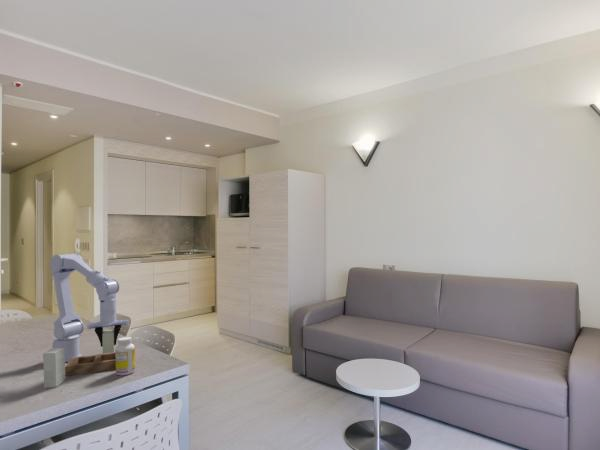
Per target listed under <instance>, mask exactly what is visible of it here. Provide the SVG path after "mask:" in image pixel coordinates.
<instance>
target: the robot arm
mask: <svg viewBox="0 0 600 450" xmlns="http://www.w3.org/2000/svg"><path fill="white" fill-rule="evenodd" d="M49 266H50V271H51V276H52V278H53V285H54V291H55V296H56V302H57V308H58V313H59V314H58V315H59V317H58V318H56V320H54V322H53V325H54V327H53V329H54V330H53V335H54V338H56V339H54V340H53V341H52V347H51V349H52V348H64V350H65V363H68V362H69V360H70V358H73V357H81V356H82V355H83V354H82V353H80V337H81V336H82V334H83V332H84V329H85V326H84V322H83V321H82V317H81V315H78V314H77V313H75V307H74V302H73V296H72V291H71V287H70V279H69V276H70V275H71V274H73V273H74V272H75V271H77V272H78V273H80V274H81V275H83V277H85V279H86V282H87V283H89V285H91V286H92V287H93V288H95V291H96V293H97V295H98V300H99V317H100V319H99V321H96V322H90V323H87V325H86V328H87V329H86V330H92V329H94V332H95V334H96V337H98V341H99V345H100V347H102V348H103V340H102V333H103V331H104V328H111V327H113V330H114V345H115V346H117V342H118V336H119V334H120V331H121V329H122V326H129V319H117V293H118V292H119V291H120V284H119V282H118V280H117V279H115V278H114V279H111V278H109V277H107V276H106V275H104V273H102V272H101V270H100V269H94V270H93V269H92V268H91V267H90V266H89V265H88V264H87V263H86V262H85V261H84V259H83V256H81V255H80V254H79V253H78V252H74V253H73V252H72V253H66V254H64V253H63V254H54V255H53V256H52V257H51V259H50V261H49Z"/></svg>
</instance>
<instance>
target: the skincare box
mask: <svg viewBox="0 0 600 450" xmlns="http://www.w3.org/2000/svg"><path fill="white" fill-rule="evenodd" d="M42 355H43V357H42V359H43V360H42V361H43V362H42V363H43V364H42V365H43V388H44V389H47V388H48V389H52V388H58V386H60V385H61V384H63V383H64V382H65V381H66V376H65V367H66V362H65V350H64V348H52V347H51V349H49V350H47V351H45V352H43V354H42Z"/></svg>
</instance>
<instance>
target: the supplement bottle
mask: <svg viewBox="0 0 600 450" xmlns="http://www.w3.org/2000/svg"><path fill="white" fill-rule="evenodd" d="M132 340H133V339H132V337H131V336H122V337H120V338H117V343H118V345H116V346H115V350H114V352H115V358H116V369H115V375H117V376H127V375H130V374H133V373H134V372H135V371H136V353H135V352H136V348H135V345H134V343H132Z"/></svg>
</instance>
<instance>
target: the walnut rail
mask: <svg viewBox="0 0 600 450" xmlns="http://www.w3.org/2000/svg"><path fill="white" fill-rule="evenodd" d="M66 363H67V364H65V377H66V376H67V377H68V376H75V375H82V374H89V373H94V372H96V373H97V372H102V371H109V370H110V371H111V370H116V358H115V351H114V352H112V353H104V354H103V353H100V354H98V353H97V354H90V355H83V356H82V355H81V357H73V358H70V360H69V362H66Z"/></svg>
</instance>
